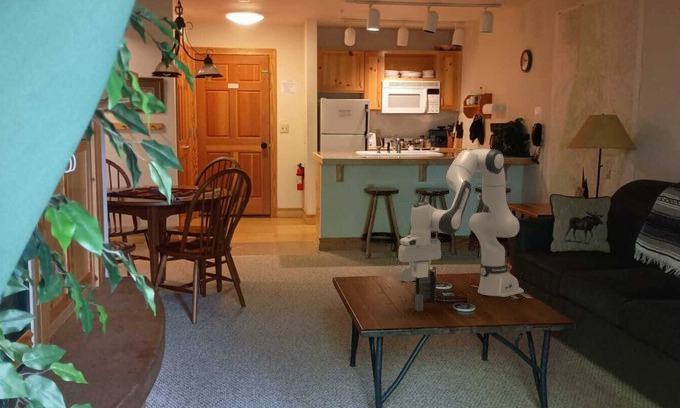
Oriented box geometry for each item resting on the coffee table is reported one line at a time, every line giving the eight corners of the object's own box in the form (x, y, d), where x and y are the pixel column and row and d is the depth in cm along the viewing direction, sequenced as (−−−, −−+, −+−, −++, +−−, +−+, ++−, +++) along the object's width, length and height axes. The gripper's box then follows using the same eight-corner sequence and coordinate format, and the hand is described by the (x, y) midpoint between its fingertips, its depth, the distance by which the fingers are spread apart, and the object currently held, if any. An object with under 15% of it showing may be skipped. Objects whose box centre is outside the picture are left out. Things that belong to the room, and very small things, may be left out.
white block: (421, 274, 276) (421, 259, 275) (428, 276, 271) (428, 261, 271) (411, 275, 274) (411, 260, 273) (417, 277, 269) (418, 262, 269)
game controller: (435, 280, 331) (435, 264, 330) (436, 281, 328) (436, 265, 327) (400, 281, 327) (400, 266, 326) (401, 282, 325) (401, 267, 324)
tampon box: (435, 302, 288) (435, 271, 286) (415, 301, 289) (415, 270, 288) (436, 296, 298) (436, 266, 297) (417, 295, 300) (417, 265, 298)
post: (420, 309, 277) (420, 293, 276) (423, 310, 274) (423, 295, 274) (414, 309, 276) (415, 294, 275) (418, 311, 273) (418, 296, 272)
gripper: (436, 237, 278) (435, 267, 280) (396, 239, 270) (396, 271, 271) (444, 239, 273) (443, 270, 274) (404, 242, 264) (403, 274, 265)
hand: (419, 270), depth 273 cm, fingers closed on white block, 5 cm apart
